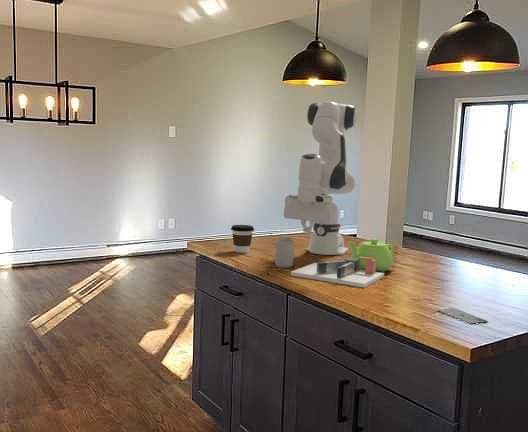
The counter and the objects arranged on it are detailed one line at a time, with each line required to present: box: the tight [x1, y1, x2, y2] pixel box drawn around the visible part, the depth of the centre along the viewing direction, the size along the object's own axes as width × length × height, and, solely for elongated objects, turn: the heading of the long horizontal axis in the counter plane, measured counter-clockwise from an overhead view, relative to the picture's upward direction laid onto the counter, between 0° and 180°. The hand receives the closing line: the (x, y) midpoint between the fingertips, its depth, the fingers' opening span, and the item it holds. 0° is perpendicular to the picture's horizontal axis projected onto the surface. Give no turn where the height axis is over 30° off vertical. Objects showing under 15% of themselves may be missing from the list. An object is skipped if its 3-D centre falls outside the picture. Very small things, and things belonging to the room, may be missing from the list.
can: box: [274, 236, 295, 269], centre depth 235 cm, size 8×8×12 cm
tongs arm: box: [316, 259, 347, 273], centre depth 221 cm, size 14×2×4 cm, turn 122°
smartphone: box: [437, 307, 489, 325], centre depth 173 cm, size 7×1×15 cm
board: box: [290, 262, 385, 289], centre depth 221 cm, size 22×30×2 cm
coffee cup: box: [230, 224, 255, 254], centre depth 264 cm, size 11×11×12 cm
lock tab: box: [358, 257, 377, 274], centre depth 223 cm, size 3×6×6 cm, turn 60°
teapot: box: [347, 238, 396, 273], centre depth 235 cm, size 22×15×13 cm
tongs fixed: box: [337, 256, 360, 278], centre depth 219 cm, size 18×5×5 cm, turn 150°
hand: (307, 232), depth 219 cm, fingers closed
